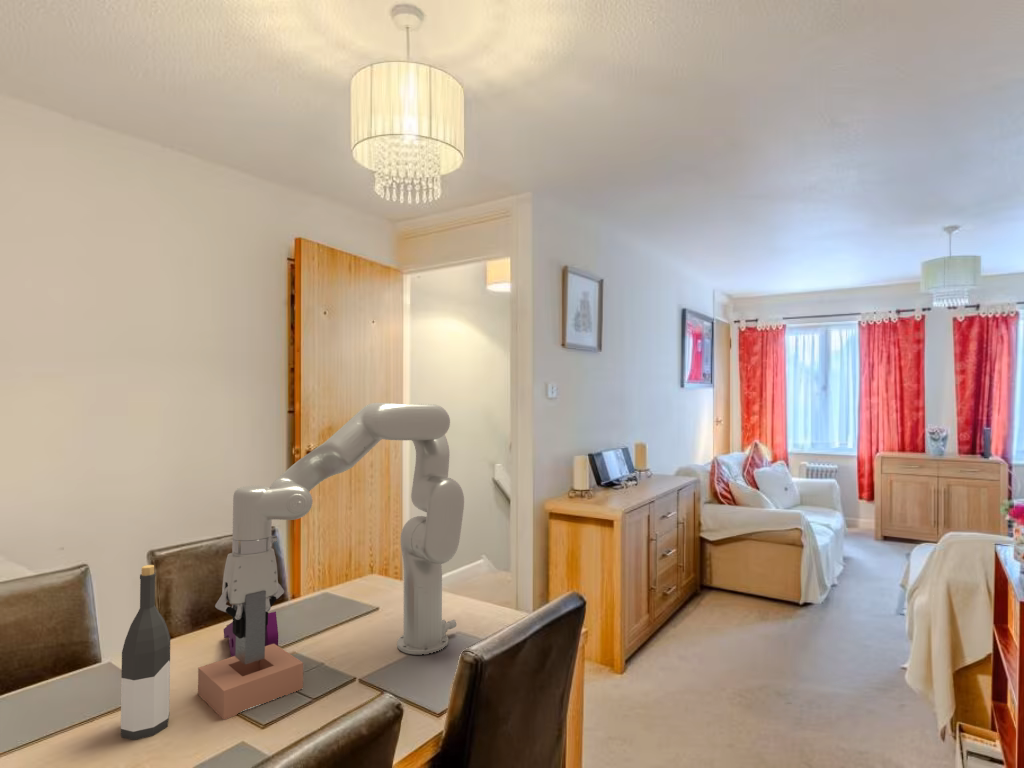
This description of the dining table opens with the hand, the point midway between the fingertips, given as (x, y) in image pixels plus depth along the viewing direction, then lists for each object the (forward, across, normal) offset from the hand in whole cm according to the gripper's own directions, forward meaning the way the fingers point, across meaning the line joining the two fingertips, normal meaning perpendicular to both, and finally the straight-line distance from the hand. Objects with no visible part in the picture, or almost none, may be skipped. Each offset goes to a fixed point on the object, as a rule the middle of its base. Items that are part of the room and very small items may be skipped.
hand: (250, 632), depth 121 cm
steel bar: (+5, 0, 0) cm, 5 cm away
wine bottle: (+13, +19, -1) cm, 23 cm away
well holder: (+12, 0, 0) cm, 12 cm away
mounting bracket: (+13, -9, -23) cm, 28 cm away
